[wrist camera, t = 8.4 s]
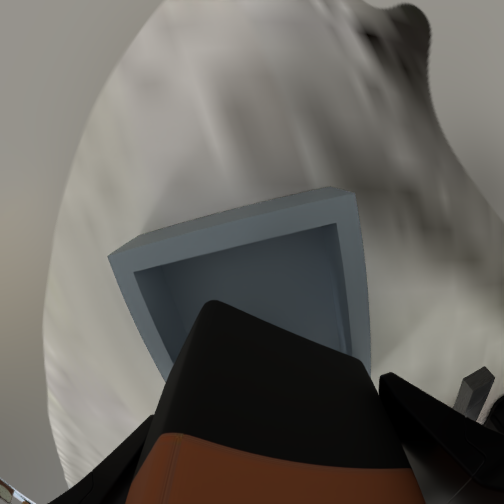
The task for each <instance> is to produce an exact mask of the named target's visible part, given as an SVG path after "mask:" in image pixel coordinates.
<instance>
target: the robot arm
mask: <svg viewBox="0 0 504 504" xmlns="http://www.w3.org/2000/svg"><path fill="white" fill-rule="evenodd" d="M379 397H380V399H381V401H382V403H383V405H384V408H385V410H386V412H387V414H388V416H389V418H390V420H391V423H392V425H393V427H394V429H395V431H396V433H397V435H398V437H399V440H400V442H401V444H402V446H403V449H404V451H405V453H406V456H407V458H408V460H409V463H410V465H411V467H412V470H413V472H414V475H415V477H416V479H417V482H418V484H419V487H420V489H421V492H422V494H423V497H424V500H425V502H426V504H504V396H503V397H502V398H500V399H499V400H498V401H497V402H496V403H495V404H494V406H493V408H492V410H491V412H490V414H489V416H488V418H487V420H486V422H485V423H484V425H481V424H479V423H477V422H475V421H474V420H472V419H470V418H468V417H465V415H463V414H461V413H459V412H458V411H456V410H454V409H453V408H451V407H449V406H447V405H446V404H444V403H442V402H441V401H439V400H437V399H436V398H434V397H432V396H430V395H429V394H427V393H425V392H424V391H422V390H420V389H419V388H417V387H415V386H414V385H412V384H410V383H409V382H407V381H406V380H404V379H402V378H401V377H399V376H397V375H396V374H394V373H392V372H389V373H386V374H383V375H381V376H380V379H379ZM153 417H154V415H150V416H149V417H148V418H147V419H146V420H145V421H144V422H143V423H142V424H141V425H140V426H139V427H138V428H137V429H136V430H135V431H134V432H133V433H132V434H131V435H130V436H129V437H127V438H126V439H125V440H124V441H123V442H122V443H121V444H120V445H119V446H118V447H117V448H116V449H115V450H114V451H113V452H112V453H111V454H110V455H108V456H107V457H106V458H105V459H104V460H103V461H102V462H101V463H100V464H99V465H98V466H97V467H95V468H94V469H93V470H92V471H91V472H90V473H89V474H88V475H87V476H85V477H84V478H83V479H82V480H81V481H80V482H78V483H77V484H76V485H74V486H73V487H72V488H70V489H69V490H68V491H66V492H65V493H63V494H62V495H60V496H59V497H58V498H56V499H54V500H53V501H51V502H50V503H48V504H125V502H126V499H127V496H128V492H129V489H130V486H131V483H132V480H133V477H134V473H135V470H136V467H137V464H138V461H139V458H140V455H141V452H142V449H143V446H144V443H145V440H146V437H147V434H148V431H149V429H150V426H151V423H152V420H153Z"/></svg>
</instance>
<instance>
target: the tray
mask: <svg viewBox="0 0 504 504" xmlns="http://www.w3.org/2000/svg"><path fill="white" fill-rule="evenodd" d="M108 259H109V262H110V264H111V267H112V270H113V272H114V275H115V278H116V280H117V283H118V285H119V288H120V290H121V292H122V295H123V297H124V300H125V302H126V304H127V306H128V309H129V311H130V313H131V315H132V318H133V320H134V322H135V324H136V326H137V328H138V331H139V333H140V335H141V337H142V339H143V341H144V343H145V345H146V347H147V349H148V351H149V353H150V355H151V357H152V359H153V360H154V362H155V364H156V366H157V368H158V370H159V372H160V373H161V375H162V377H163V379H164V381H165V382H166V381H167V378H168V376H169V373H170V371H171V369H172V367H173V365H174V363H175V361H176V359H177V357H178V355H179V353H180V351H181V348H182V346H183V344H184V342H185V340H186V338H187V336H188V334H189V332H190V330H191V328H192V326H193V324H194V322H195V320H196V318H197V316H198V314H199V312H200V310H201V308H202V307H203V305H204V304H205V303H206V302H208V301H210V300H218V301H222V302H224V303H226V304H229V305H231V306H233V307H235V308H237V309H240V310H242V311H244V312H246V313H248V314H251V315H253V316H255V317H257V318H260V319H262V320H264V321H266V322H269V323H271V324H273V325H276V326H278V327H280V328H283V329H285V330H287V331H290V332H292V333H294V334H297V335H299V336H302V337H304V338H307V339H309V340H311V341H314V342H316V343H319V344H321V345H324V346H326V347H329V348H332V349H334V350H337V351H339V352H342V353H345V354H347V355H350V356H352V357H355V358H357V359H359V360H361V361H362V363H363V364H364V366H365V368H366V370H367V372H368V374H369V376H370V378H371V345H370V318H369V301H368V288H367V277H366V267H365V258H364V249H363V241H362V234H361V227H360V220H359V214H358V208H357V202H356V196H355V193H353V192H349V191H346V190H342V189H338V188H334V187H325V188H321V189H316V190H312V191H307V192H303V193H298V194H294V195H289V196H285V197H281V198H276V199H272V200H268V201H264V202H260V203H256V204H252V205H248V206H244V207H240V208H236V209H232V210H228V211H224V212H220V213H216V214H213V215H209V216H205V217H202V218H198V219H194V220H191V221H187V222H183V223H180V224H176V225H173V226H169V227H166V228H162V229H159V230H156V231H152V232H149V233H146V234H142V235H139V236H137V237H135V238H134V239H132V240H131V241H129V242H128V243H126V244H125V245H123V246H122V247H120V248H119V249H117V250H116V251H114V252H113V253H111V254H110V255H108Z"/></svg>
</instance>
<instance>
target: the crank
mask: <svg viewBox="0 0 504 504" xmlns="http://www.w3.org/2000/svg"><path fill="white" fill-rule="evenodd" d="M494 379H495V377H494V376H493V375H492V373H491V372H490V371H489V370H488V369H487V368H486V367H485V366H484V367H482V368H481V369H479V370H477V371H476V372H474V373H472V374H471V375H469V376H467V377H465V378H463V380H462V384H461V387H460V390H459V393H458V396H457V399H456V401H455V404H454V407H453V409H454V410H456V411H458V412H459V413H461V414H463V415H465V417H468V418H470V419H472V420H474V421H475V422H476V420H477V418H478V416H479V414H480V412H481V410H482V407H483V405H484V403H485V401H486V399H487V396H488V394H489V392H490V389H491V387H492V384H493V382H494Z"/></svg>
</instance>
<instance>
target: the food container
mask: <svg viewBox="0 0 504 504" xmlns="http://www.w3.org/2000/svg"><path fill="white" fill-rule="evenodd" d="M13 493H14V490H13V489H12V488H11V487H9V486H8V485H7V484H5V483H4V482H3V481H2V480H0V499H2V500H3V501H4V502H5V503H7V504H11V499H12V496H13Z"/></svg>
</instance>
